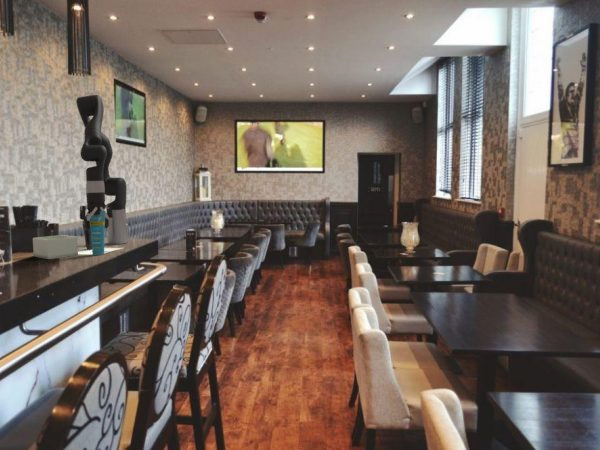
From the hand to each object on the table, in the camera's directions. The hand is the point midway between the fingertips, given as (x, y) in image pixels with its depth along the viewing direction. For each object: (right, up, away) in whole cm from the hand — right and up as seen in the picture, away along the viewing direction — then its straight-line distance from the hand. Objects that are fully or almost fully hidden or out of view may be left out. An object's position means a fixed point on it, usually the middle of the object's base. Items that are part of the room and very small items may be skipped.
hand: (97, 228), depth 236 cm
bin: (-17, -12, -2) cm, 21 cm away
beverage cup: (-10, -10, +19) cm, 24 cm away
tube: (0, -12, +1) cm, 12 cm away
